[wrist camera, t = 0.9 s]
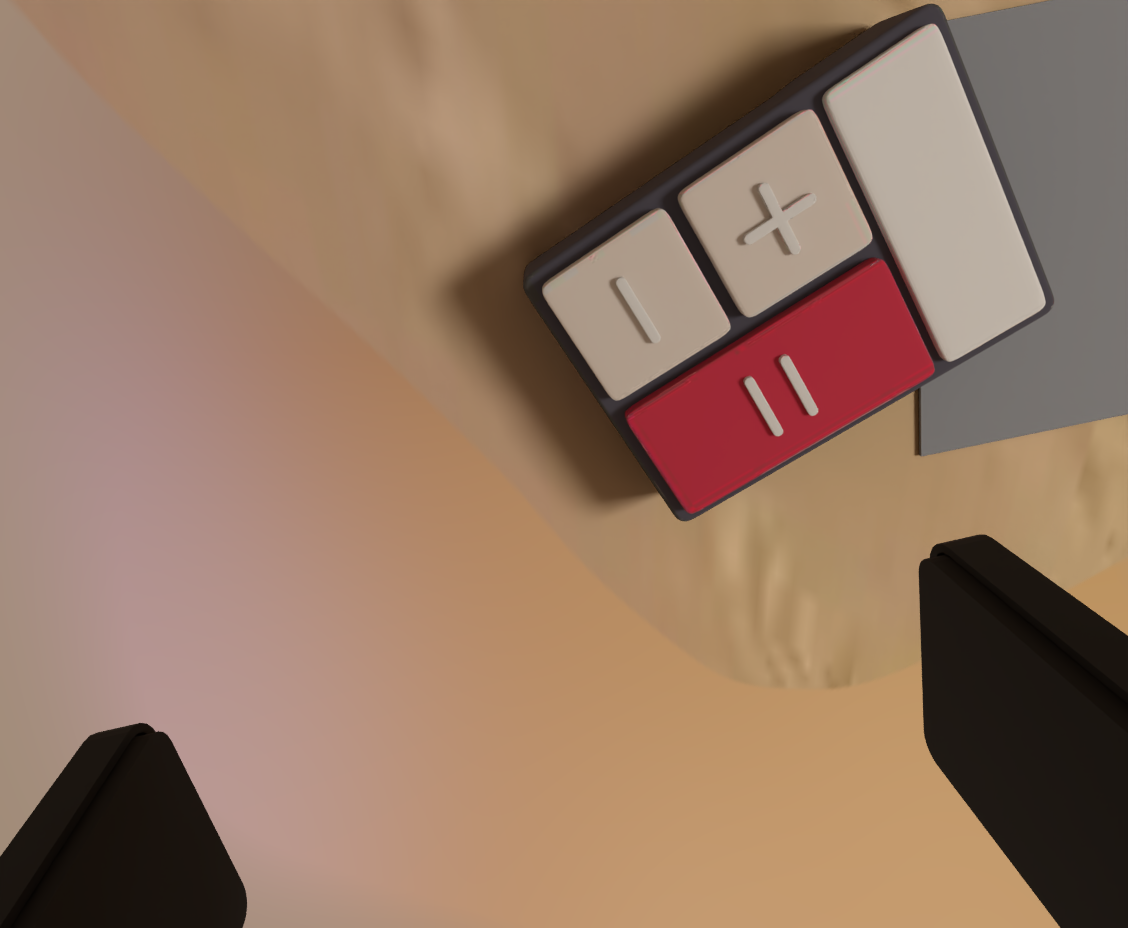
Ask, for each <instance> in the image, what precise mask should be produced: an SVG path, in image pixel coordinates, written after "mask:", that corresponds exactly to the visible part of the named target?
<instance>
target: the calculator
mask: <svg viewBox="0 0 1128 928" xmlns="http://www.w3.org/2000/svg"><path fill="white" fill-rule="evenodd" d="M523 287H524V291H525V293H526V295H527V296H528V298H529V300H530V301H531V303H532V304H533V306H534V307H535V309H536V310H537V311H538V313H539V314H540V316H541V317H542V319H543V320H544V322H545V323H546V325H547V326H548V328H549V329H550V331H551V332H552V334H553V335H554V337H555V338H556V340H557V341H558V343H559V344H560V346H561V347H562V349H563V350H564V352H565V353H566V355H567V356H568V358H569V359H570V361H571V362H572V364H573V365H574V367H575V368H576V370H577V371H578V373H579V374H580V376H581V377H582V379H583V380H584V382H585V383H586V385H587V386H588V388H589V389H590V391H591V392H592V394H593V395H594V396H595V398H596V399H597V401H598V402H599V404H600V405H601V407H602V408H603V410H604V411H605V413H606V414H607V416H608V417H609V419H610V420H611V422H612V423H613V425H614V426H615V428H616V429H617V431H618V432H619V434H620V435H621V437H622V438H623V440H624V441H625V443H626V444H627V446H628V447H629V449H630V450H631V452H632V453H633V455H634V456H635V458H636V459H637V461H638V462H639V464H640V465H641V467H642V468H643V470H644V471H645V473H646V474H647V476H648V477H649V479H650V480H651V482H652V483H653V484H654V486H655V487H656V489H657V490H658V492H659V493H660V495H661V496H662V498H663V499H664V501H665V502H666V504H667V505H668V507H669V508H670V510H671V511H672V513H673V514H674V515H675V517H676V518H677V519H679V520H681V521H689V520H692V519H694V518H696V517H697V516H699V515H701V514H703V513H704V512H706V511H708V510H710V509H711V508H713V507H715V506H716V505H718V504H720V503H722V502H723V501H725V500H727V499H728V498H730V497H732V496H734V495H735V494H737V493H739V492H741V491H742V490H744V489H746V488H747V487H749V486H751V485H753V484H754V483H756V482H758V481H760V480H761V479H763V478H765V477H766V476H768V475H770V474H772V473H773V472H775V471H777V470H779V469H780V468H782V467H784V466H785V465H787V464H789V463H791V462H792V461H794V460H796V459H798V458H799V457H801V456H803V455H804V454H806V453H808V452H810V451H811V450H813V449H815V448H817V447H818V446H820V445H822V444H823V443H825V442H827V441H829V440H830V439H832V438H834V437H836V436H837V435H839V434H841V433H842V432H844V431H846V430H848V429H849V428H851V427H853V426H855V425H856V424H858V423H860V422H861V421H863V420H865V419H867V418H868V417H870V416H872V415H873V414H875V413H877V412H879V411H880V410H882V409H884V408H886V407H887V406H889V405H891V404H892V403H894V402H896V401H898V400H899V399H901V398H903V397H905V396H906V395H908V394H910V393H911V392H913V391H915V390H917V389H918V388H920V387H922V386H924V385H925V384H927V383H929V382H930V381H932V380H934V379H936V378H937V377H939V376H941V375H943V374H944V373H946V372H948V371H949V370H951V369H953V368H955V367H956V366H958V365H960V364H962V363H963V362H965V361H967V360H968V359H970V358H972V357H974V356H975V355H977V354H979V353H981V352H982V351H984V350H986V349H987V348H989V347H991V346H993V345H994V344H996V343H998V342H1000V341H1001V340H1003V339H1005V338H1006V337H1008V336H1010V335H1012V334H1013V333H1015V332H1017V331H1019V330H1020V329H1022V328H1024V327H1025V326H1027V325H1029V324H1031V323H1032V322H1034V321H1036V320H1037V319H1039V318H1041V317H1042V316H1044V315H1046V314H1047V313H1048V312H1049V311H1050V310H1051V309H1052V307H1053V305H1054V296H1053V293H1052V290H1051V288H1050V285H1049V282H1048V280H1047V277H1046V275H1045V272H1044V270H1043V267H1042V264H1041V262H1040V259H1039V257H1038V254H1037V251H1036V249H1035V246H1034V244H1033V241H1032V239H1031V236H1030V233H1029V231H1028V228H1027V226H1026V223H1025V221H1024V218H1023V215H1022V213H1021V210H1020V208H1019V205H1018V203H1017V200H1016V197H1015V195H1014V192H1013V190H1012V187H1011V185H1010V182H1009V179H1008V177H1007V174H1006V172H1005V169H1004V166H1003V164H1002V161H1001V159H1000V156H999V154H998V151H997V148H996V146H995V143H994V141H993V138H992V136H991V133H990V130H989V128H988V125H987V123H986V120H985V118H984V115H983V112H982V110H981V107H980V105H979V102H978V100H977V97H976V94H975V92H974V89H973V87H972V84H971V81H970V79H969V76H968V74H967V71H966V69H965V66H964V63H963V61H962V58H961V56H960V53H959V51H958V48H957V45H956V43H955V40H954V38H953V35H952V33H951V30H950V27H949V25H948V22H947V20H946V17H945V15H944V13H943V11H942V9H941V8H940V7H939V6H938V5H935V4H926V5H924V6H921V7H918V8H915V9H913V10H910V11H907V12H904V13H902V14H899V15H896V16H894V17H891V18H888V19H886V20H883V21H881V22H879V23H877V24H875V25H874V26H872V27H871V28H869V29H868V30H866V31H865V32H863V33H862V34H860V35H859V36H857V37H856V38H854V39H853V40H851V41H850V42H849V43H847V44H846V45H844V46H843V47H841V48H840V49H838V50H837V51H835V52H834V53H833V54H831V55H830V56H828V57H827V58H825V59H824V60H822V61H821V62H819V63H818V64H817V65H815V66H814V67H812V68H811V69H809V70H808V71H806V72H805V73H803V74H802V75H801V76H799V77H798V78H796V79H795V80H793V81H792V82H790V83H789V84H788V85H786V86H785V87H784V88H783V89H781V90H780V91H779V92H778V93H776V94H775V95H774V96H773V97H771V98H770V99H769V100H767V101H766V102H764V103H763V104H761V105H760V106H758V107H757V108H755V109H754V110H752V111H751V112H750V113H748V114H747V115H745V116H744V117H742V118H741V119H739V120H738V121H736V122H735V123H733V124H732V125H731V126H729V127H728V128H726V129H725V130H723V131H722V132H720V133H719V134H717V135H716V136H714V137H713V138H712V139H710V140H709V141H707V142H706V143H704V144H703V145H701V146H700V147H698V148H697V149H695V150H694V151H692V152H691V153H690V154H688V155H687V156H685V157H684V158H682V159H681V160H679V161H678V162H676V163H675V164H673V165H672V166H671V167H669V168H668V169H666V170H665V171H663V172H662V173H660V174H659V175H657V176H656V177H654V178H653V179H652V180H650V181H649V182H647V183H646V184H644V185H643V186H641V187H640V188H638V189H637V190H635V191H634V192H633V193H631V194H630V195H628V196H627V197H625V198H624V199H622V200H621V201H619V202H618V203H616V204H615V205H613V206H612V207H611V208H609V209H608V210H606V211H605V212H603V213H602V214H600V215H599V216H597V217H596V218H594V219H593V220H592V221H590V222H589V223H587V224H586V225H584V226H583V227H581V228H580V229H578V230H577V231H575V232H574V233H573V234H571V235H570V236H568V237H567V238H565V239H564V240H562V241H561V242H559V243H558V244H556V245H555V246H553V247H552V248H551V249H549V250H548V251H546V252H545V253H543V254H542V255H540V256H539V257H537V258H536V259H535V260H533V261H532V262H531V263H529V264H528V265H527V267H526V269H525V272H524V280H523Z"/></svg>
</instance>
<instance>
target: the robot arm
mask: <svg viewBox="0 0 1128 928" xmlns="http://www.w3.org/2000/svg"><path fill="white" fill-rule="evenodd" d="M919 594H920V625H921V657H922V687H923V718H924V734H925V739H926V743H927V746H928V749H929V751H930V753H931V755H932V757H933V759H934V761H935V762H936V764H937V765H938V766H939V768H940V769H941V770H942V772H943V773H944V774H945V776H946V777H947V778H948V780H949V781H950V782H951V784H952V785H953V786H954V788H955V789H956V790H957V792H958V793H959V794H960V796H961V797H962V798H963V800H964V801H965V802H966V803H967V805H968V806H969V807H970V808H971V810H972V811H973V813H974V814H975V815H976V817H977V818H978V819H979V821H980V822H981V823H982V824H983V826H984V827H985V829H986V830H987V831H988V833H989V834H990V835H991V836H992V837H993V839H994V840H995V842H996V843H997V844H998V846H999V847H1000V848H1001V850H1002V851H1003V852H1004V854H1005V855H1006V856H1007V858H1008V859H1009V860H1010V862H1011V863H1012V864H1013V865H1014V867H1015V868H1016V869H1017V871H1018V872H1019V873H1020V875H1021V876H1022V877H1023V879H1024V880H1025V881H1026V883H1027V884H1028V885H1029V886H1030V888H1031V889H1032V891H1033V892H1034V893H1035V895H1036V896H1037V897H1038V899H1039V900H1040V901H1041V903H1042V904H1043V905H1044V906H1045V908H1046V909H1047V910H1048V912H1049V913H1050V914H1051V916H1052V917H1053V918H1054V920H1055V921H1056V922H1057V924H1058V925H1059V926H1060V928H1128V636H1127V635H1126V634H1125V633H1123V632H1122V631H1120V630H1119V629H1118V628H1116V627H1115V626H1113V625H1112V624H1111V623H1109V622H1108V621H1106V620H1105V619H1104V618H1102V617H1101V616H1100V615H1098V614H1097V613H1095V612H1094V611H1092V610H1091V609H1090V608H1088V607H1087V606H1086V605H1084V604H1083V603H1081V602H1080V601H1079V600H1077V599H1076V598H1075V597H1073V596H1072V595H1070V594H1069V593H1068V592H1066V591H1065V590H1063V589H1062V588H1061V587H1059V586H1058V585H1057V584H1055V583H1054V582H1052V581H1051V580H1050V579H1048V578H1047V577H1045V576H1044V575H1043V574H1041V573H1040V572H1039V571H1037V570H1036V569H1034V568H1033V567H1032V566H1030V565H1029V564H1027V563H1026V562H1025V561H1023V560H1022V559H1020V558H1019V557H1018V556H1016V555H1015V554H1014V553H1012V552H1011V551H1009V550H1008V549H1007V548H1005V547H1004V546H1002V545H1001V544H1000V543H998V542H997V541H995V540H994V539H993V538H991V537H989V536H987V535H975V536H971V537H966V538H962V539H958V540H953V541H949V542H944V543H940V544H936V545H935V546H934V547H933V548H932V550H931V553H930V558H928V559H924V560H923V561H921V563H920V566H919ZM246 911H247V897H246V891H245V888H244V885H243V883H242V881H241V879H240V877H239V875H238V873H237V871H236V869H235V867H234V865H233V863H232V861H231V859H230V857H229V855H228V853H227V851H226V849H225V847H224V845H223V843H222V841H221V839H220V837H219V835H218V833H217V831H216V829H215V827H214V825H213V823H212V821H211V819H210V817H209V815H208V813H207V811H206V809H205V807H204V805H203V803H202V801H201V799H200V797H199V795H198V793H197V791H196V789H195V787H194V785H193V783H192V781H191V779H190V777H189V775H188V774H187V771H186V769H185V767H184V765H183V763H182V761H181V759H180V757H179V755H178V753H177V751H176V749H175V747H174V745H173V743H172V741H171V740H170V738H169V737H168V735H166V734H165V733H164V732H159V731H158V732H155V730H154V729H153V728H152V727H151V726H149V725H148V724H144V723H138V724H134V725H129V726H125V727H120V728H116V729H112V730H107V731H103V732H98V733H95V734H93V735H90V736H89V737H88V738H87V739H86V740H85V741H84V742H83V744H82V745H81V746H80V748H79V749H78V751H77V752H76V753H75V755H74V756H73V757H72V759H71V760H70V762H69V763H68V764H67V766H66V767H65V768H64V770H63V771H62V773H61V774H60V775H59V777H58V778H57V779H56V781H55V782H54V784H53V785H52V786H51V788H50V789H49V791H48V792H47V793H46V794H45V796H44V797H43V799H42V800H41V801H40V803H39V804H38V805H37V807H36V808H35V810H34V811H33V812H32V814H31V815H30V817H29V818H28V819H27V821H26V822H25V823H24V825H23V826H22V828H21V829H20V830H19V832H18V833H17V834H16V836H15V837H14V839H13V840H12V841H11V843H10V844H9V846H8V847H7V848H6V850H5V851H4V852H3V854H2V855H1V856H0V928H242V927H243V924H244V921H245V917H246Z"/></svg>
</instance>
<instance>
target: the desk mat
mask: <svg viewBox="0 0 1128 928" xmlns="http://www.w3.org/2000/svg"><path fill="white" fill-rule="evenodd" d="M947 22H948V25H949V27H950V30H951V33H952V35H953V38H954V40H955V43H956V45H957V48H958V51H959V53H960V56H961V58H962V61H963V63H964V66H965V69H966V71H967V74H968V76H969V79H970V81H971V84H972V87H973V89H974V92H975V94H976V97H977V100H978V102H979V105H980V107H981V110H982V112H983V115H984V118H985V120H986V123H987V125H988V128H989V130H990V133H991V136H992V138H993V141H994V143H995V146H996V148H997V151H998V154H999V156H1000V159H1001V161H1002V164H1003V166H1004V169H1005V172H1006V174H1007V177H1008V179H1009V182H1010V185H1011V187H1012V190H1013V192H1014V195H1015V197H1016V200H1017V203H1018V205H1019V208H1020V210H1021V213H1022V215H1023V218H1024V221H1025V223H1026V226H1027V228H1028V231H1029V233H1030V236H1031V239H1032V241H1033V244H1034V246H1035V249H1036V251H1037V254H1038V257H1039V259H1040V262H1041V264H1042V267H1043V270H1044V272H1045V275H1046V277H1047V280H1048V282H1049V285H1050V288H1051V290H1052V293H1053V296H1054V305H1053V307H1052V309H1051V310H1050V311H1049V312H1048V313H1047V314H1046V315H1044V316H1042V317H1041V318H1039V319H1037V320H1036V321H1034V322H1032V323H1031V324H1029V325H1027V326H1025V327H1024V328H1022V329H1020V330H1019V331H1017V332H1015V333H1013V334H1012V335H1010V336H1008V337H1006V338H1005V339H1003V340H1001V341H1000V342H998V343H996V344H994V345H993V346H991V347H989V348H987V349H986V350H984V351H982V352H981V353H979V354H977V355H975V356H974V357H972V358H970V359H968V360H967V361H965V362H963V363H962V364H960V365H958V366H956V367H955V368H953V369H951V370H949V371H948V372H946V373H944V374H943V375H941V376H939V377H937V378H936V379H934V380H932V381H930V382H929V383H927V384H925V385H924V386H922V387H920V388H919V455H920V456H926V455H931V454H936V453H941V452H945V451H950V450H955V449H960V448H965V447H970V446H975V445H980V444H984V443H989V442H994V441H999V440H1004V439H1009V438H1014V437H1019V436H1023V435H1028V434H1033V433H1038V432H1043V431H1048V430H1053V429H1058V428H1062V427H1067V426H1072V425H1077V424H1082V423H1087V422H1092V421H1097V420H1101V419H1106V418H1111V417H1116V416H1121V415H1126V414H1128V0H1050V1H1045V2H1040V3H1035V4H1030V5H1025V6H1020V7H1014V8H1009V9H1004V10H999V11H994V12H989V13H984V14H979V15H974V16H969V17H963V18H958V19H953V20H948V21H947Z"/></svg>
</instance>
